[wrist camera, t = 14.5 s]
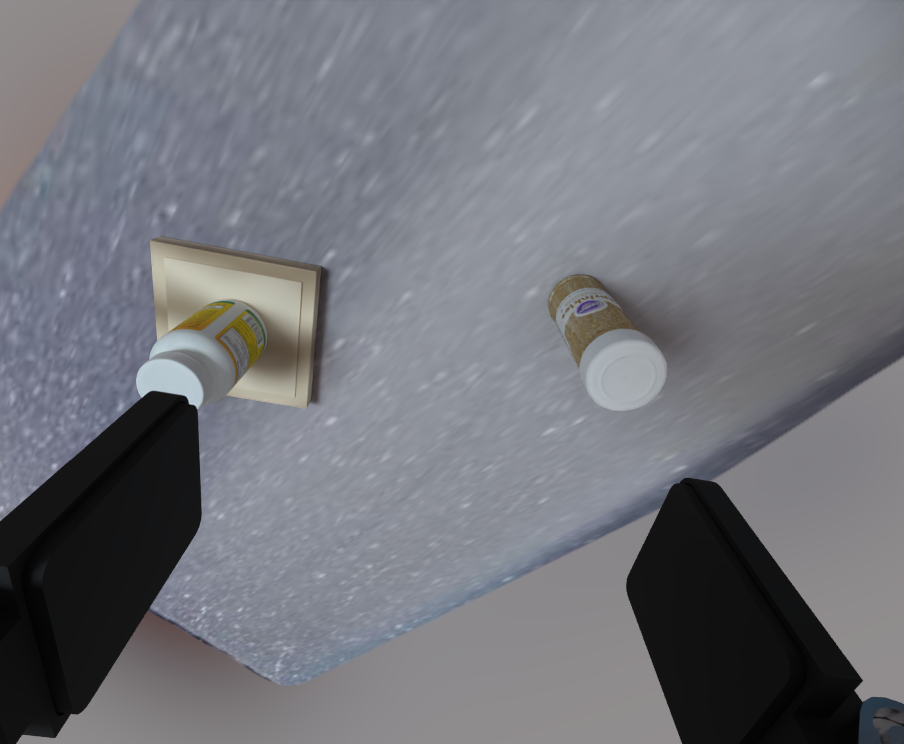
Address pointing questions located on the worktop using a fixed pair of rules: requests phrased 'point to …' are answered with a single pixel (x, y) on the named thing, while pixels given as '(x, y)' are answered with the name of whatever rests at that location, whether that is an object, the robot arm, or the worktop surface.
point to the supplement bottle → (205, 353)
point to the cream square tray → (264, 290)
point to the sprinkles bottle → (606, 345)
